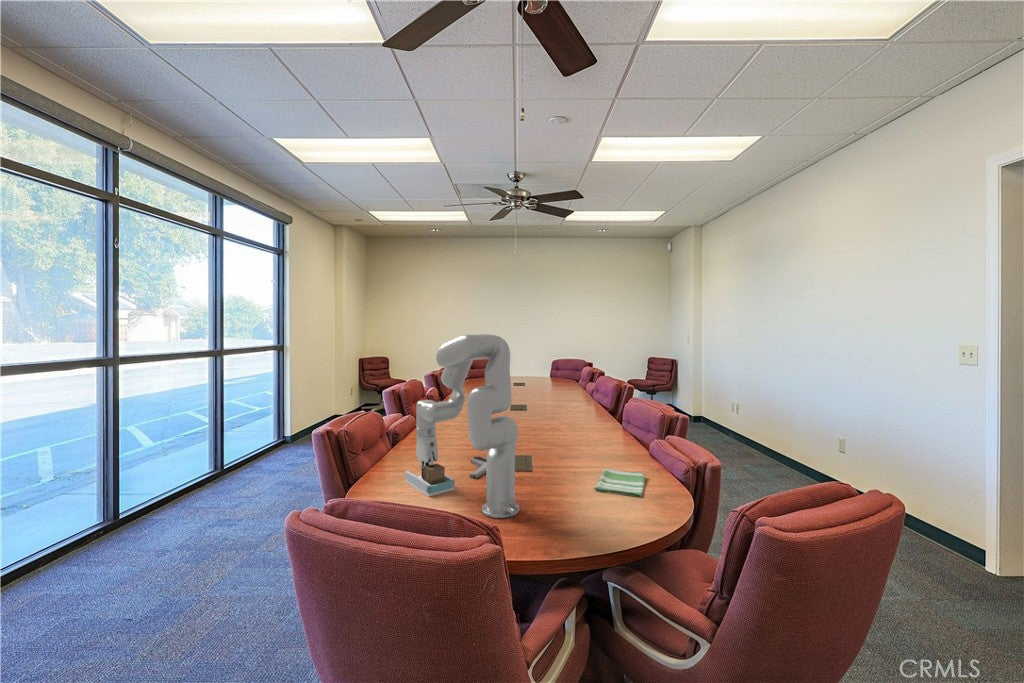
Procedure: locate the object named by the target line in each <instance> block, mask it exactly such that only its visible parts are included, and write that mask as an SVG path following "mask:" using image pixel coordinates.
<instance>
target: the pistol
mask: <svg viewBox="0 0 1024 683" xmlns="http://www.w3.org/2000/svg"><path fill="white" fill-rule="evenodd" d="M470 463H472V464H475V465H476V469H475V470H474V471H473V472H471V473H470V474H469V478H471V479H476V480H477V479H478V478H480V477H482V476H483V475H485V474H486V465H487V457H484V456H480V455H476V456H474V457H471V459H470Z"/></svg>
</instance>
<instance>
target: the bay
mask: <svg viewBox="0 0 1024 683" xmlns="http://www.w3.org/2000/svg"><path fill="white" fill-rule="evenodd" d="M404 481H405V483H407V484H409V485H410V486H411V487H413V488H414V489H416V490H418V491H419V492H421V493H422V494H424V495H425V496H427V497H432V496H436V495H440V494H445V493H448V492H451V491H455V490H456V489H455V481H456V480H455V478H453V477H451V476H449V475H447V474H445V482H443V483H439V484H435V485H431V484H429V483H427V482H426V481H424V480H423V479H422V474H421V475H418V476H417V475H415V474H414V473H412V472H411V471H409V470H405V471H404Z"/></svg>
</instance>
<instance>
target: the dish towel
mask: <svg viewBox="0 0 1024 683" xmlns="http://www.w3.org/2000/svg"><path fill="white" fill-rule="evenodd" d="M645 474H646V473H645V472H638V471H624V470H614V469H608V468H605V469H604V470H603V472H602V473H601V475H600V478H599V480H598V483H596V485H594V487H593V489H594V490H595V492H598V493H605V492H610V493H609V494H612V493H617V494H616V495H620V494H624V495H623V496H628V495H632V496H633V497H636V496H639V497H641V498H642V497H643V493H644V490H643V489H645V488H644V487H645V484H646V478H645V476H646V475H645ZM632 496H631V497H632Z"/></svg>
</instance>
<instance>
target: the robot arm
mask: <svg viewBox="0 0 1024 683" xmlns="http://www.w3.org/2000/svg"><path fill="white" fill-rule="evenodd" d="M435 358H436V363H437V364H438V366H439V367H441V368H442V369H443V368H444V369H443V371H442V374H441V375H440V381H441V384H442V385H444V386H445V387H446V388H448V389H451V390H452V391H451V394H450V397H449V399H448V400H442V401H434V400H433V399H421V400H418V401H417V403H416V413H415V414H416V425H415V426H416V433H415V434H416V435H415V436H416V444H415V445H416V447H415V451H416V452H415V453H416V458H417V459H418V460H419V462H420V467H421V468H420V469H421V475H422V479H423V466H427V465H429V466H434V464H435V463H434V462H438V460H439V459H438V458H439V457H438V456H439V454H438V442H437V433H436V432H437V423H442V422H445V421H450V420H454V419H456V418H457V417H458V416H459V414H460V413H461V411H462V409H463V407H464V405H465V400H466V392H465V389H464V386H463V385H464V382H465V381H466V378H467V375H468V374H469V371H470V369H471V366H472V364H473V362H474V361H475V360H476V361H477V360H488V362H487V364H486V366H485V369H484V383H485V384H484V385H483V386H477V387H475V388H473V389H472V390H471V392H470V393H469V395H468V398H467V402H466V406H467V407H466V408H467V422H468V423H467V424H468V425H467V426H468V435H469V441H470V444H471V446H472V447H473V448H474V449H475V450H477V451H479V452H486V451H487V455H486V458H487V465H486V473H485V474H486V475H485V476H486V477H485V478H486V480H485V481H486V488H485V490H486V491H485V492H486V494H485V496H486V499H485V500H486V502H485V503H484V504H482V507H481V512H482V514H483V515H485V516H487V517H488V518H489V517H491V518H495V519H506V518H512V517H513V516H516V515H517V514H518V513H519V512H520V509H521V507H520V506H519V505H518V503H517V499H515V498H516V497H515V496H516V495H515V494H516V493H515V489H516V488H515V486H516V477H515V476H516V447H517V442H518V437H519V428H518V427H519V426H518V424H517V422H516V421H515V420H514V419H513V418H512V417H510V416H507V415H506V416H505V415H502V416H500V415H499V416H495V417H492V415H495V414H500V413H504V412H506V411H508V410H509V409H510V408H511V406H512V400H513V398H512V397H513V396H512V384H511V383H512V380H511V371H510V370H511V369H510V368H511V348H510V345H509V344H508V342H507V341H506V340H505V339H504V338H503V337H501V336H499V335H495V334H487V333H486V334H465V335H461V336H458V337H456V338H454V339H451V340H449V341H447V342H445V343H443V344H442V345H440V346H439V348H438V349H437V351H436V354H435Z"/></svg>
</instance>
